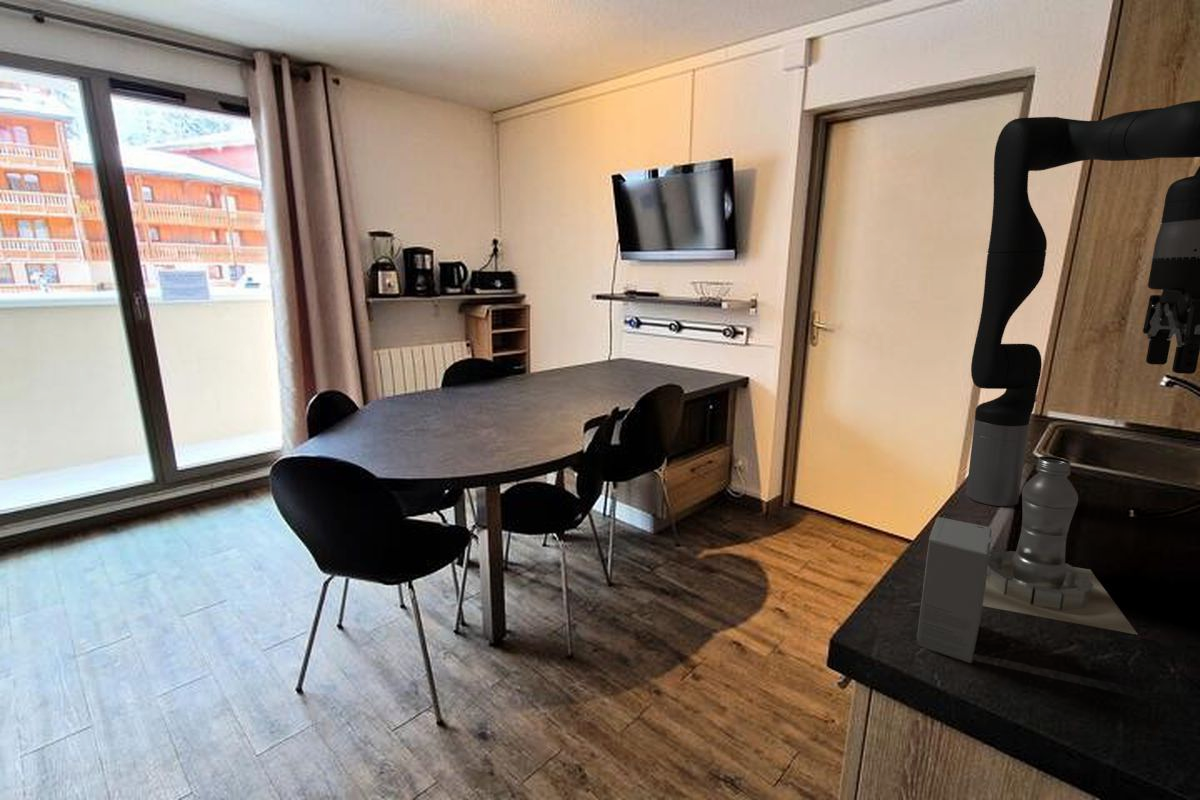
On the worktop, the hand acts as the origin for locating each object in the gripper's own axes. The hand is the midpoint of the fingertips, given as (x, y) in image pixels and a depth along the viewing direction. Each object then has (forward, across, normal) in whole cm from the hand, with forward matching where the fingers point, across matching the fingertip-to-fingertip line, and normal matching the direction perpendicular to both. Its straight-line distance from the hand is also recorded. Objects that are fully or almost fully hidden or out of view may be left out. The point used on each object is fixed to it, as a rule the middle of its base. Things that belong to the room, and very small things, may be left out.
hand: (1168, 368), depth 81 cm
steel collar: (+32, +12, -15) cm, 37 cm away
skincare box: (+33, +30, -28) cm, 53 cm away
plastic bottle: (+32, +12, -15) cm, 37 cm away
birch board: (+33, +12, -15) cm, 38 cm away
